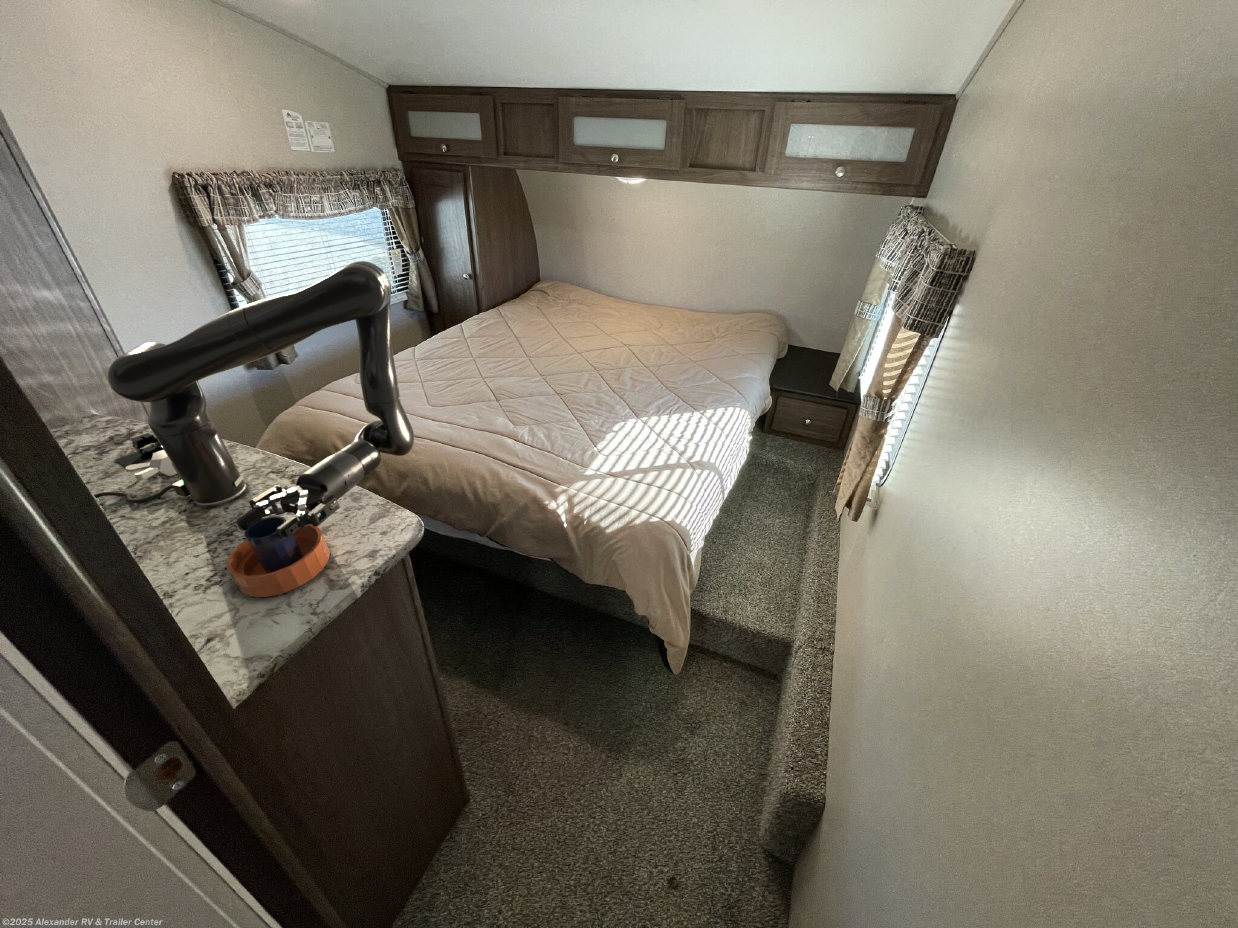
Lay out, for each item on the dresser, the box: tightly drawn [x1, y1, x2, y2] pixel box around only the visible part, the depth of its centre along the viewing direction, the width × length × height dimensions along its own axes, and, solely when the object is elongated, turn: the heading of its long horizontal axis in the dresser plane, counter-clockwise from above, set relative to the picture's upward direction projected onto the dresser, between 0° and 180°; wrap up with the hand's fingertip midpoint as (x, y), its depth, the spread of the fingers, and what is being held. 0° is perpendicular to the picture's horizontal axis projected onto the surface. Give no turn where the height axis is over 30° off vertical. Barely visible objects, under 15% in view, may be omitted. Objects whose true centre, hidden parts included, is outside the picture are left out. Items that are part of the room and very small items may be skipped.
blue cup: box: [244, 515, 304, 574], centre depth 85 cm, size 6×6×9 cm
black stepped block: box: [114, 432, 164, 468], centre depth 122 cm, size 12×7×5 cm, turn 151°
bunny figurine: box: [125, 450, 178, 481], centre depth 115 cm, size 10×5×15 cm
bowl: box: [226, 524, 331, 598], centre depth 86 cm, size 14×14×5 cm
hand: (259, 530), depth 81 cm, fingers open, 8 cm apart
